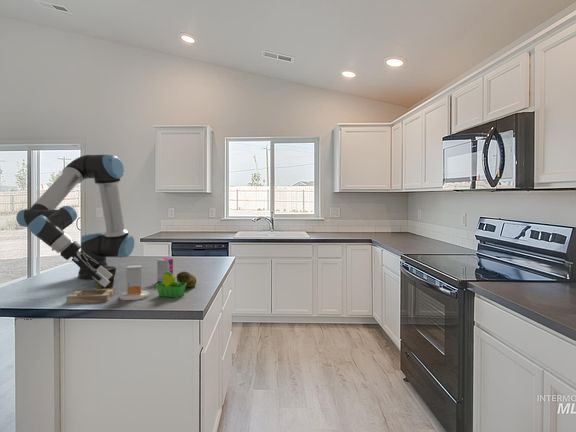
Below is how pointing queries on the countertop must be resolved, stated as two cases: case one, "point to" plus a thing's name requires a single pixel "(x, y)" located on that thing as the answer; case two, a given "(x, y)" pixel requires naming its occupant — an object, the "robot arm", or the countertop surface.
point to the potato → (186, 279)
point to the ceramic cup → (112, 270)
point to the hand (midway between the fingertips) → (109, 280)
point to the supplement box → (164, 268)
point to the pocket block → (90, 296)
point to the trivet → (134, 296)
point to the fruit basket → (170, 286)
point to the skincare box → (134, 280)
